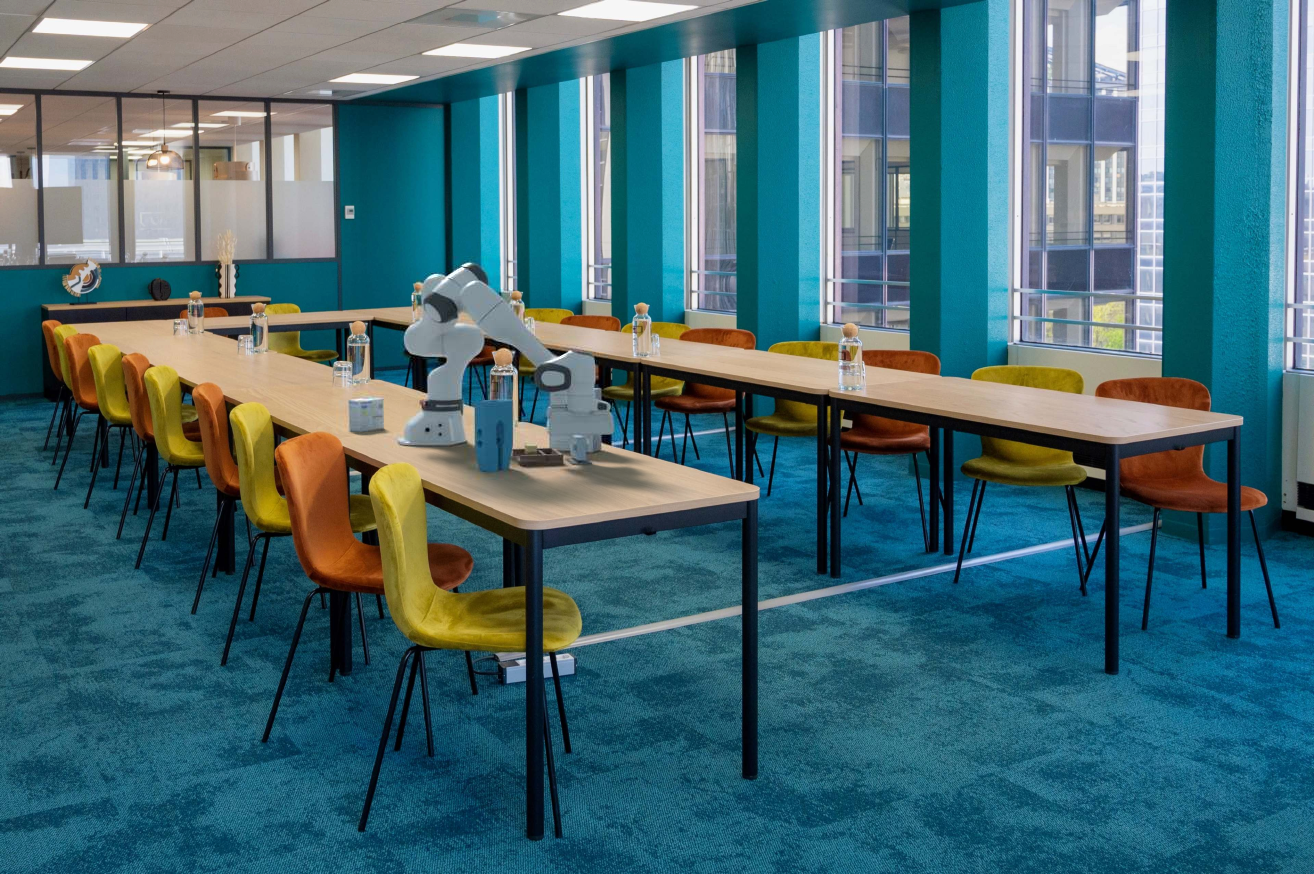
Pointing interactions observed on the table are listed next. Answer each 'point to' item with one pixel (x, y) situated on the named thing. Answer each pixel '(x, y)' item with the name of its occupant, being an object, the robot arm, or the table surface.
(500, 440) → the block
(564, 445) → the hard drive box
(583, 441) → the light blue rectangular block
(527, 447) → the offcut upper
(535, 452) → the offcut lower
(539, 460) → the rack
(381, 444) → the table surface
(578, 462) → the mat
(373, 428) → the light bulb box
